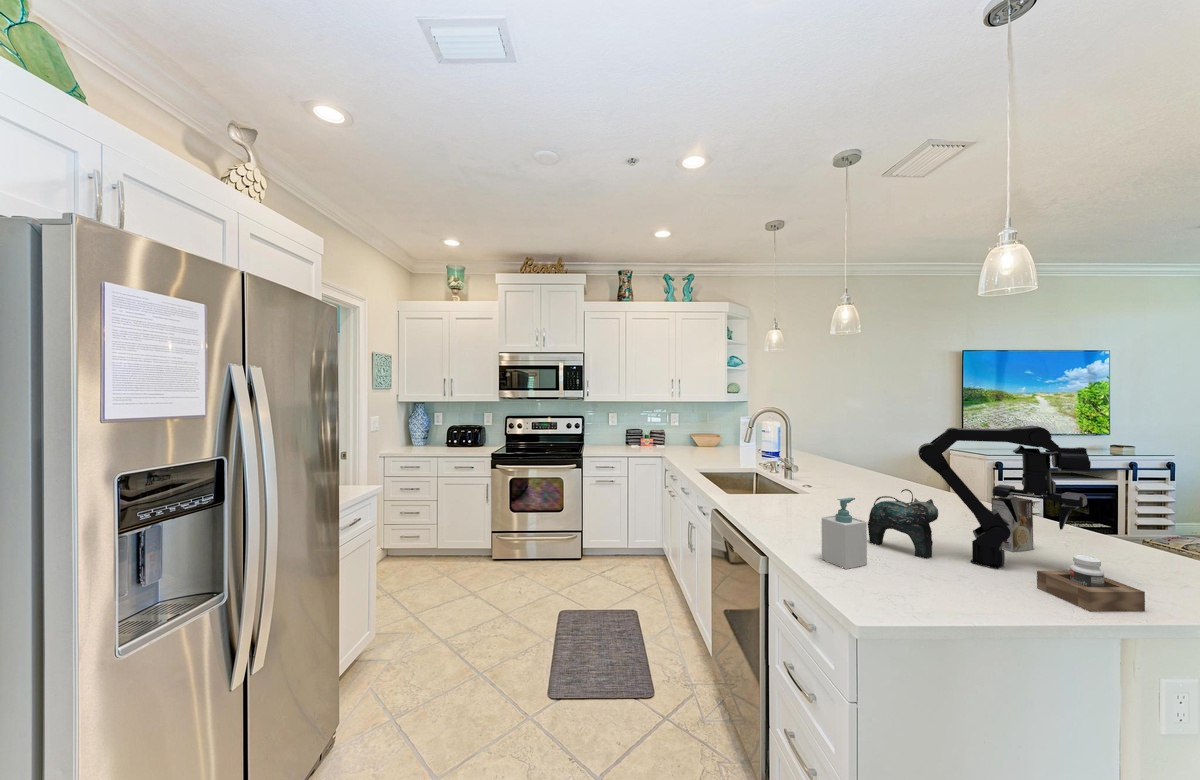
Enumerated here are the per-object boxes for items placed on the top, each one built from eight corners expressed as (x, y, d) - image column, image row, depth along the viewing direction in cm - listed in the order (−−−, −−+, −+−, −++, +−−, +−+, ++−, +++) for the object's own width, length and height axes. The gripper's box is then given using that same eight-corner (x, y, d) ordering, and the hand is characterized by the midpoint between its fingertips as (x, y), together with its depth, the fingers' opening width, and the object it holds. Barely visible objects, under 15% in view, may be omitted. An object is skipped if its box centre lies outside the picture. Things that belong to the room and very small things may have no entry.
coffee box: (1011, 543, 154) (1011, 495, 154) (1034, 549, 148) (1033, 499, 148) (991, 546, 151) (990, 497, 151) (1013, 552, 145) (1012, 501, 145)
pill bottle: (1063, 593, 116) (1063, 554, 116) (1086, 593, 116) (1085, 554, 116) (1087, 604, 110) (1087, 562, 110) (1111, 604, 110) (1111, 562, 110)
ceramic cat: (940, 558, 140) (939, 493, 141) (928, 562, 137) (928, 495, 138) (875, 540, 158) (874, 482, 158) (863, 543, 155) (863, 483, 155)
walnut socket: (1089, 611, 106) (1089, 591, 106) (1037, 587, 119) (1036, 570, 119) (1145, 611, 106) (1144, 591, 106) (1086, 587, 119) (1086, 570, 119)
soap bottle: (867, 565, 135) (867, 500, 135) (845, 569, 132) (845, 503, 132) (842, 555, 143) (842, 494, 143) (821, 559, 140) (820, 496, 140)
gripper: (1090, 471, 127) (1092, 528, 127) (1003, 464, 142) (1005, 514, 142) (1081, 475, 120) (1083, 535, 120) (991, 467, 136) (992, 520, 136)
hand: (1038, 525), depth 130 cm, fingers open, 9 cm apart
